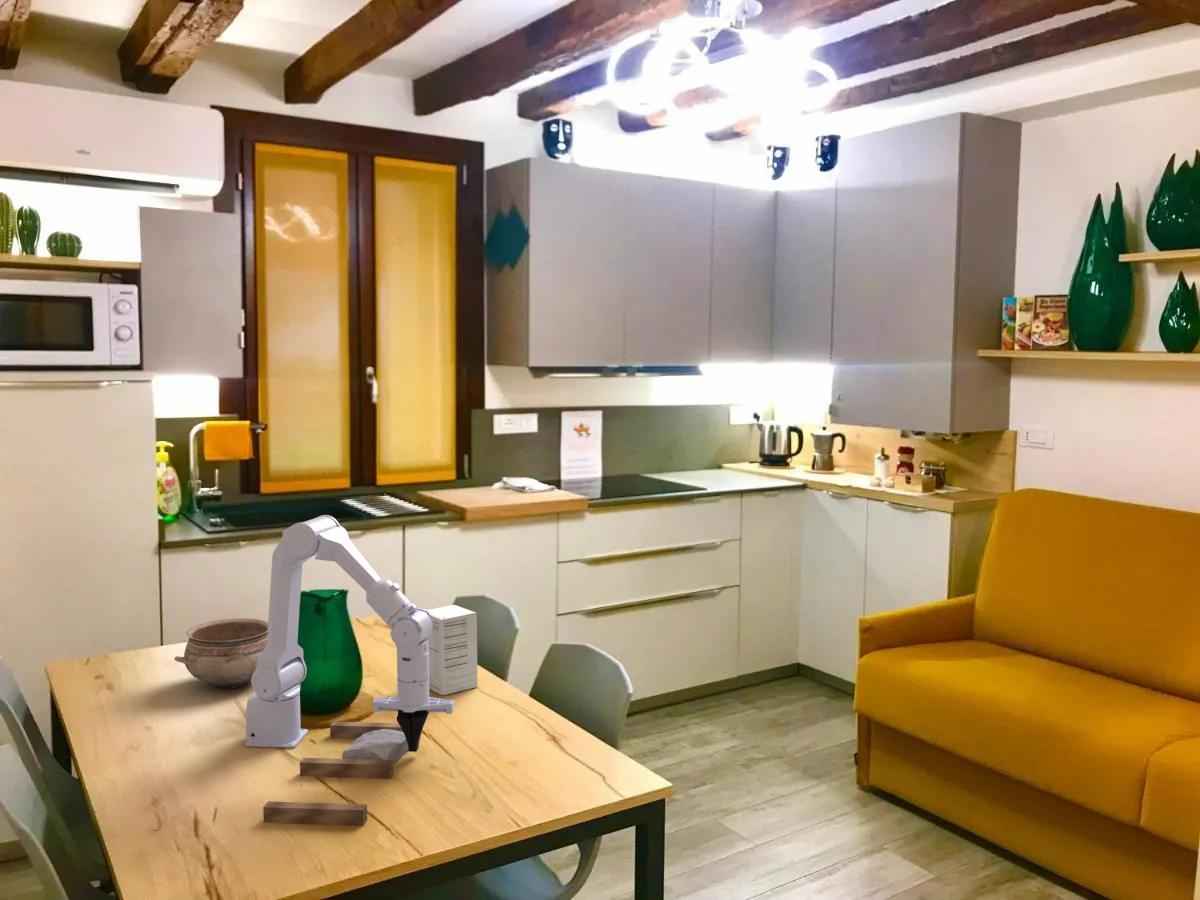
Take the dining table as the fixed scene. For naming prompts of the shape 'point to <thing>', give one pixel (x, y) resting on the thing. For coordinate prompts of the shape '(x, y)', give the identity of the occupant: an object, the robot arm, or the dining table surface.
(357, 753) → the stone block
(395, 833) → the dining table surface
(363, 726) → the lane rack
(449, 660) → the supplement box
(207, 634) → the cooking pot
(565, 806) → the dining table surface
